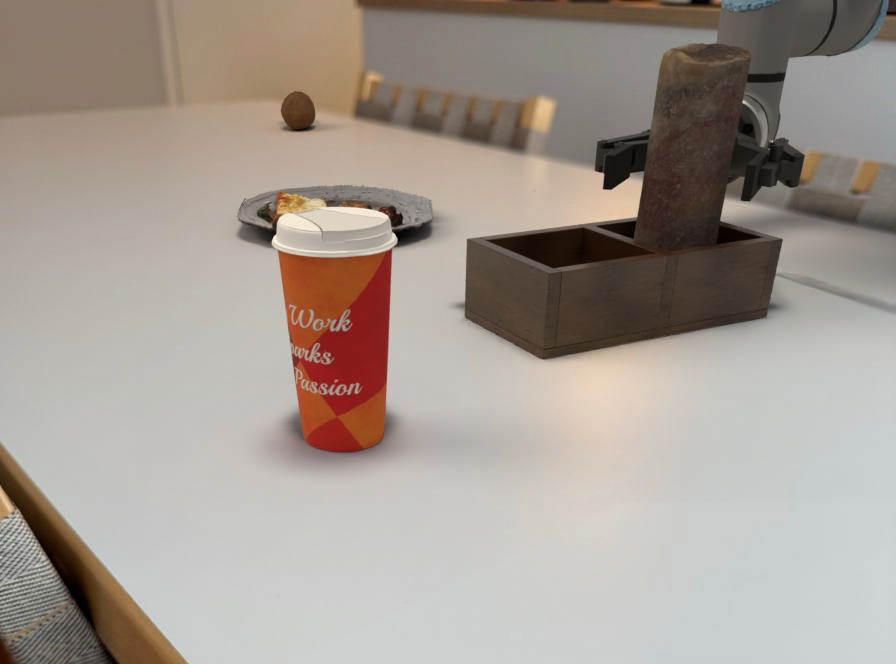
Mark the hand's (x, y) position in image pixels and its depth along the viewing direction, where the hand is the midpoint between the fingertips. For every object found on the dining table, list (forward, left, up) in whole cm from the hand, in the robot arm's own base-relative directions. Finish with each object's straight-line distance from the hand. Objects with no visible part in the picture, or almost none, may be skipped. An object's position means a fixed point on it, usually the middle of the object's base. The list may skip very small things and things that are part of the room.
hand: (676, 177), depth 80 cm
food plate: (+47, +11, -12) cm, 50 cm away
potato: (+127, -16, -12) cm, 129 cm away
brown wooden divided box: (+2, +3, -12) cm, 12 cm away
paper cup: (-11, +36, -12) cm, 39 cm away
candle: (+3, -3, -11) cm, 12 cm away
